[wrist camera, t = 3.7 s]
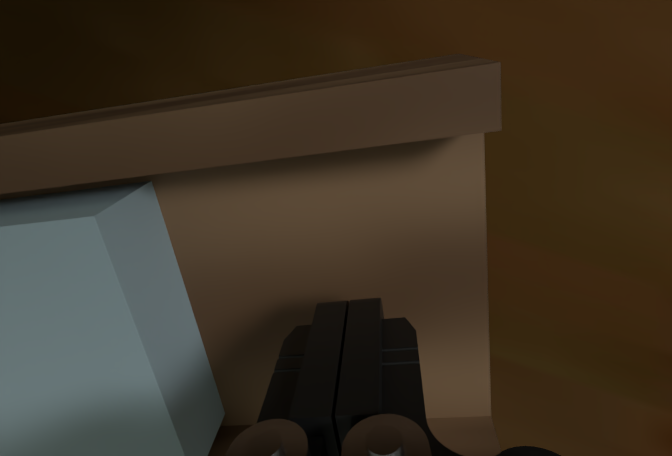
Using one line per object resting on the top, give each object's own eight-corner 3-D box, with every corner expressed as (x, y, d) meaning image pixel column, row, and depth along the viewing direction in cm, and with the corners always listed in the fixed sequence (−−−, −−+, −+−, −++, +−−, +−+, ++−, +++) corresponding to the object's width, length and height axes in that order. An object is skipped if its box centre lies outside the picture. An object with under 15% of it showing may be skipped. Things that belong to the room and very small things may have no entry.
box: (-153, 147, 15) (-363, 190, 11) (459, 53, 12) (500, 61, 8) (-10, 401, 19) (-121, 503, 15) (473, 376, 16) (505, 496, 12)
